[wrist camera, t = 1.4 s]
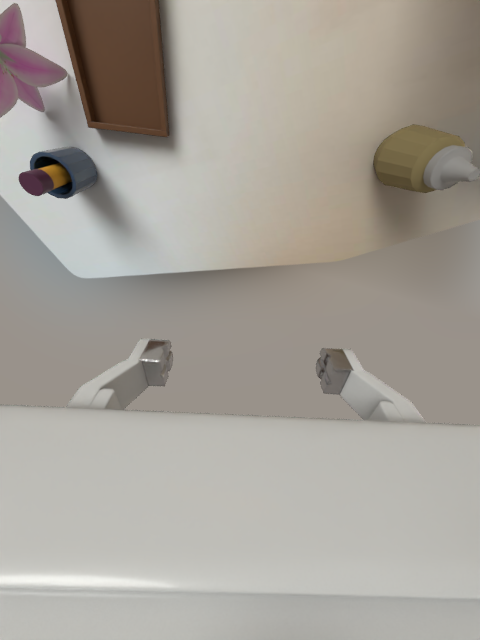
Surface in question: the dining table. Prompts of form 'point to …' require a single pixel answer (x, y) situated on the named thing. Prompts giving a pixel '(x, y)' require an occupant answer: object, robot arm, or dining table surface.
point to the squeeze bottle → (423, 160)
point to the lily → (22, 65)
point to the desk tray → (118, 63)
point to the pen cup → (68, 169)
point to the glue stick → (44, 179)
